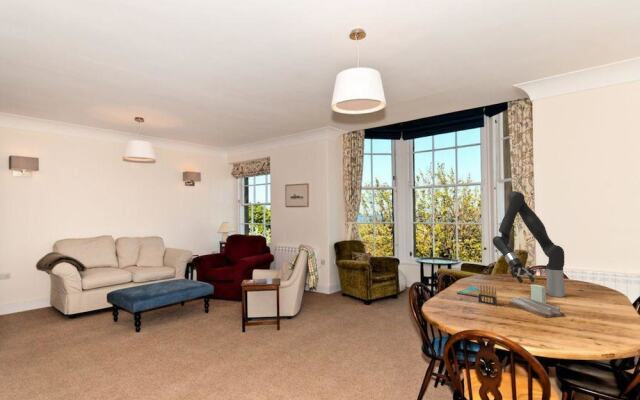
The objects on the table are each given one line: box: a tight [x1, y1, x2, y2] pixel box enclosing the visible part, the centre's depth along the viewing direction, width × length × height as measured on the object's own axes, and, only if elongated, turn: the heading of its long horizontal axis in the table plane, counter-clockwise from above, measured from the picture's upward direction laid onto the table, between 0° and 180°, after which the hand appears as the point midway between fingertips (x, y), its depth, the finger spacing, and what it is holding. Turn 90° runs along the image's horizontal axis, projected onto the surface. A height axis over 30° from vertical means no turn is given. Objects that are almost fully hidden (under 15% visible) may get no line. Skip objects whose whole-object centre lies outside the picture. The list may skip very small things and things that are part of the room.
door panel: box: [530, 284, 547, 304], centre depth 211 cm, size 3×8×11 cm, turn 12°
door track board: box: [508, 295, 566, 319], centre depth 199 cm, size 12×26×4 cm, turn 12°
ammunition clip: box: [478, 282, 498, 306], centre depth 214 cm, size 11×2×12 cm, turn 39°
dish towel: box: [456, 285, 494, 299], centre depth 240 cm, size 17×23×2 cm
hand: (527, 282), depth 219 cm, fingers open, 8 cm apart
